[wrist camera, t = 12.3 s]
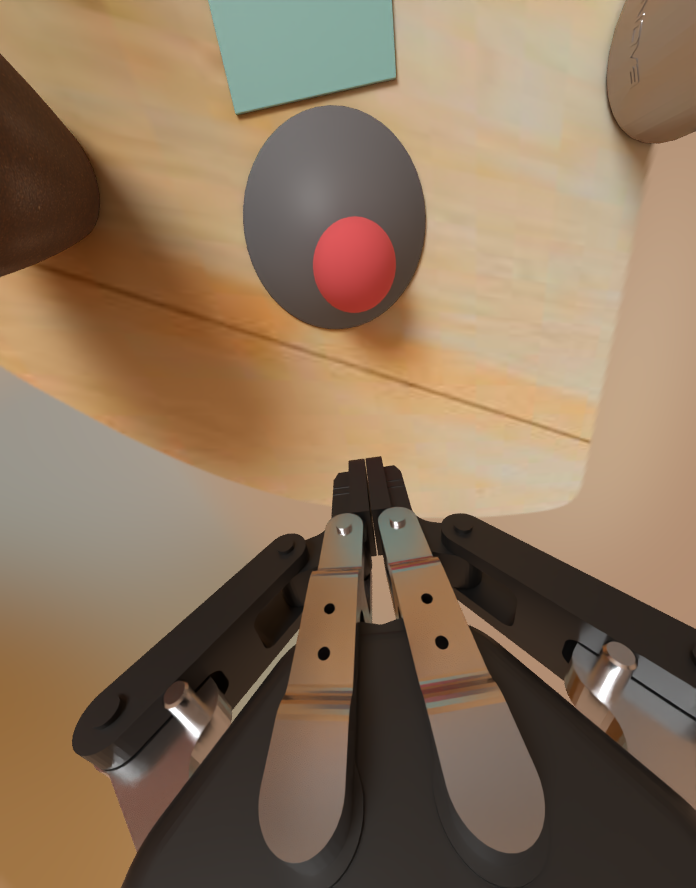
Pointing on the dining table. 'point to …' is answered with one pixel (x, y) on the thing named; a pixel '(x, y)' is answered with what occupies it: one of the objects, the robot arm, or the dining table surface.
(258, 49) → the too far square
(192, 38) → the dining table surface
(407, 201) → the disc
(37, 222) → the plant pot
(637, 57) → the robot arm
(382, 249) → the ball
